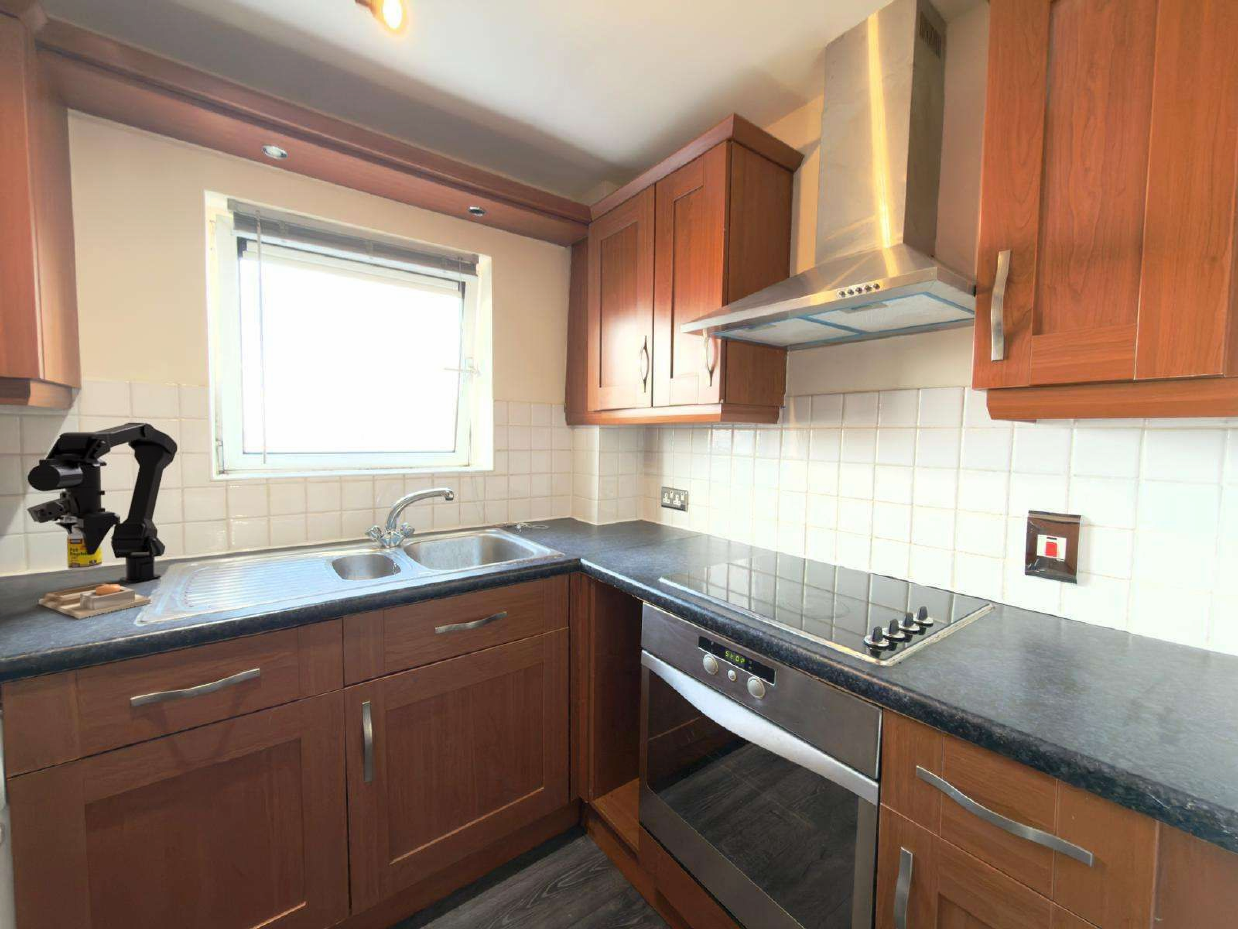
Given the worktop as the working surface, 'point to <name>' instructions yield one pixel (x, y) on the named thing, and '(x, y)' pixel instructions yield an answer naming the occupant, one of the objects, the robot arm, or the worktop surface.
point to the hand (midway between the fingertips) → (85, 553)
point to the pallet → (91, 601)
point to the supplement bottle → (81, 553)
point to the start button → (107, 589)
